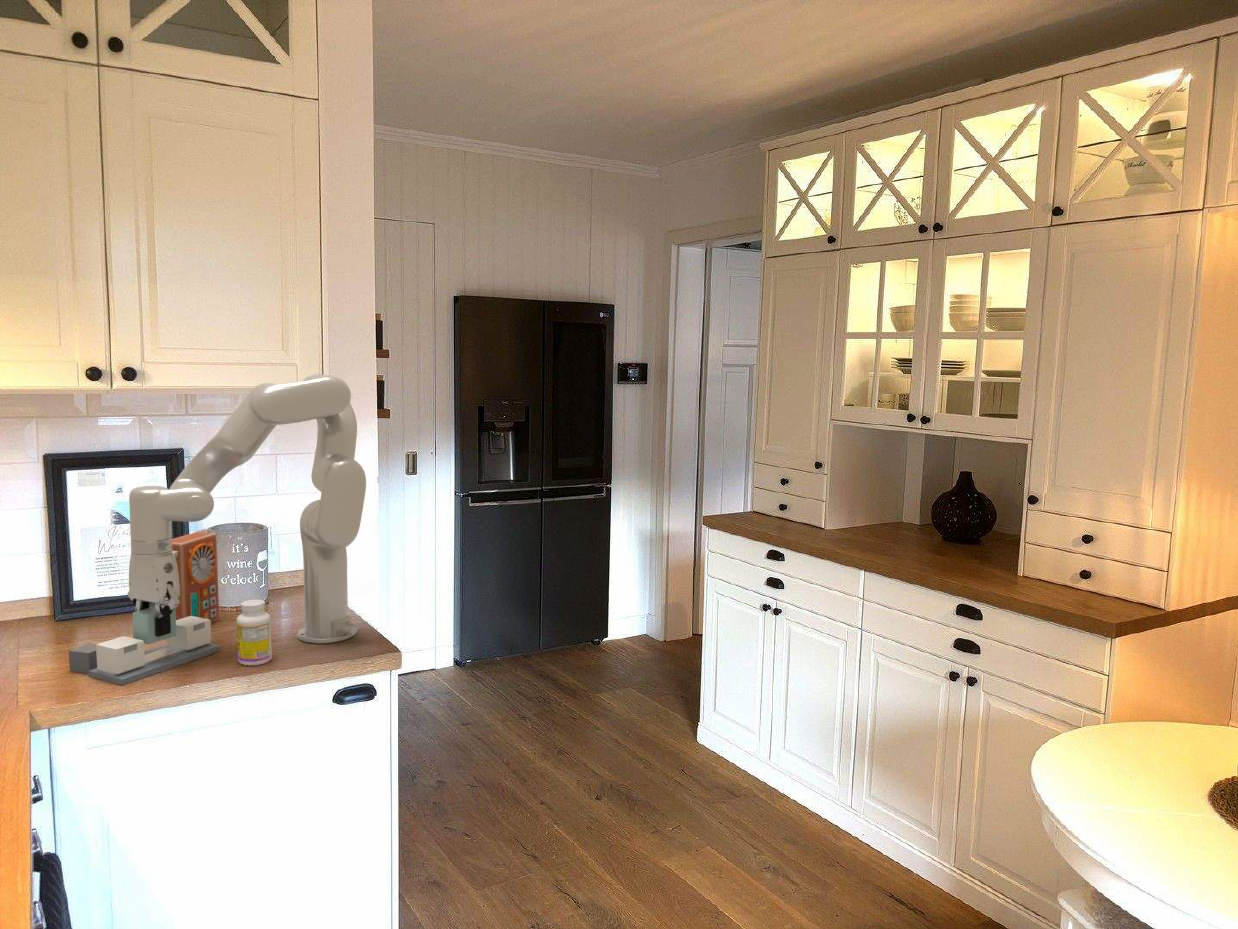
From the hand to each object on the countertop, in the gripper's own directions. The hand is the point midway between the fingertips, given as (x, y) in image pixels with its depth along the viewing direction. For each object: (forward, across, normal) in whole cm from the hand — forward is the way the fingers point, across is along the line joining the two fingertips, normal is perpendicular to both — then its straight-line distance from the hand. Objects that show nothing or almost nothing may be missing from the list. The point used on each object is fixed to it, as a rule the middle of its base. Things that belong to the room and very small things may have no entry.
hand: (154, 631), depth 185 cm
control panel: (+7, +14, -21) cm, 26 cm away
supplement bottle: (+7, -17, -11) cm, 21 cm away
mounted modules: (+5, 0, 0) cm, 5 cm away
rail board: (+7, 0, 0) cm, 7 cm away
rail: (+6, 0, 0) cm, 6 cm away
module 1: (+7, +9, +8) cm, 14 cm away
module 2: (+1, 0, 0) cm, 1 cm away
